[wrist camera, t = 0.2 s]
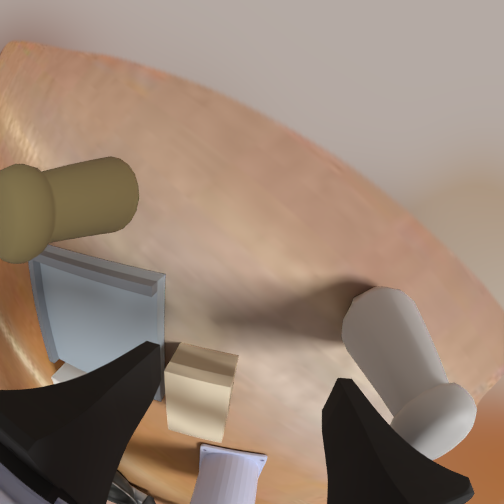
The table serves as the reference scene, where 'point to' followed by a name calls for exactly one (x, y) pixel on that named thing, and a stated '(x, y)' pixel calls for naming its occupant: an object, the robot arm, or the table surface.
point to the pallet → (199, 391)
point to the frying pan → (127, 492)
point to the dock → (96, 308)
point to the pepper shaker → (63, 204)
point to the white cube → (67, 373)
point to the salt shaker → (407, 371)
